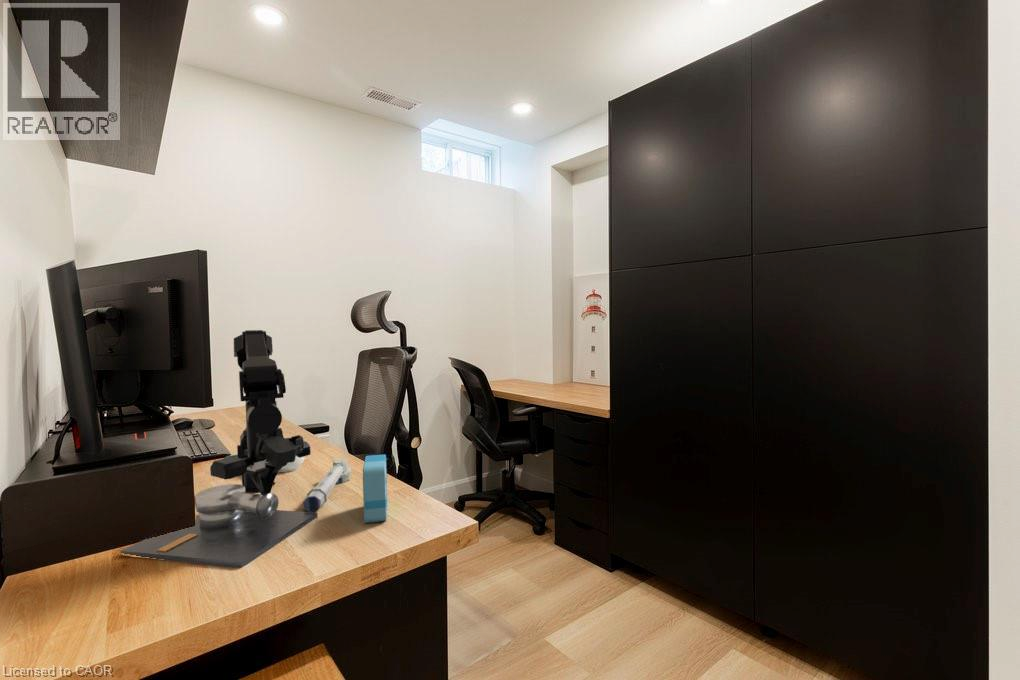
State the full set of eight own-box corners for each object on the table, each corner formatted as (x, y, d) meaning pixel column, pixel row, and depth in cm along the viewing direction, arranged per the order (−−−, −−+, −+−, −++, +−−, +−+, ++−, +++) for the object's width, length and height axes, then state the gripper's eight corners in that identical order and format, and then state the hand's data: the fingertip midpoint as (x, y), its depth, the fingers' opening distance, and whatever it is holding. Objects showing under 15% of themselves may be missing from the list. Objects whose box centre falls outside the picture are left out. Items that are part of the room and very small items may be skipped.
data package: (386, 523, 100) (384, 467, 99) (364, 525, 99) (362, 469, 98) (387, 502, 111) (386, 452, 111) (367, 505, 110) (366, 454, 110)
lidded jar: (296, 474, 135) (295, 442, 134) (259, 475, 135) (258, 442, 135) (313, 463, 145) (312, 433, 145) (278, 464, 146) (277, 434, 145)
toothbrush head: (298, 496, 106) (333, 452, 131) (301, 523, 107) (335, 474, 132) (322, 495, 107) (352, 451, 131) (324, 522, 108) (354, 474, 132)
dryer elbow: (185, 514, 98) (185, 492, 97) (225, 499, 106) (224, 479, 106) (250, 525, 91) (249, 502, 91) (287, 508, 100) (286, 486, 100)
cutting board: (120, 556, 87) (119, 534, 87) (217, 510, 109) (216, 493, 109) (241, 567, 82) (240, 545, 82) (317, 517, 103) (316, 499, 103)
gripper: (240, 439, 86) (244, 523, 86) (325, 419, 102) (328, 490, 103) (206, 433, 91) (211, 512, 92) (293, 415, 107) (296, 482, 108)
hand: (265, 498), depth 99 cm, fingers closed
